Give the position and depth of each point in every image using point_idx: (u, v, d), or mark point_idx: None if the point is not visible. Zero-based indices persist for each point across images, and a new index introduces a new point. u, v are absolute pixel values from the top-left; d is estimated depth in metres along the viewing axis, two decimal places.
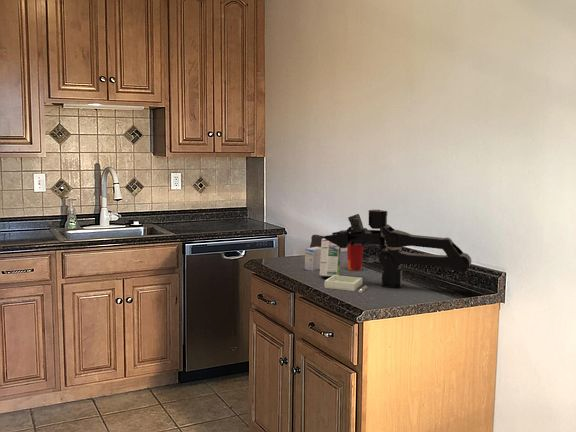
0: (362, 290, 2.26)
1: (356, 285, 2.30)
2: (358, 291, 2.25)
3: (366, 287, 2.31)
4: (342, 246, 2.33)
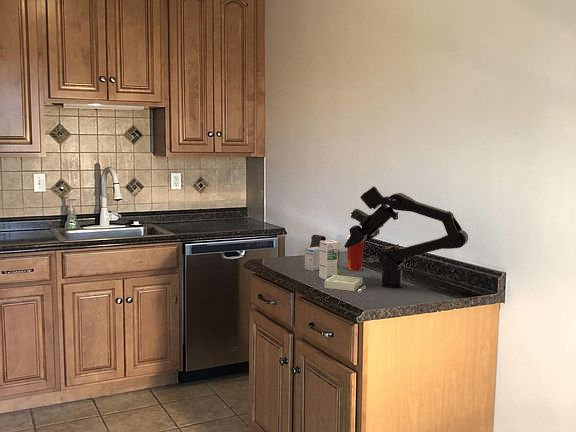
0: (360, 289, 2.26)
1: (356, 285, 2.30)
2: (357, 292, 2.25)
3: (364, 286, 2.31)
4: (360, 239, 2.31)
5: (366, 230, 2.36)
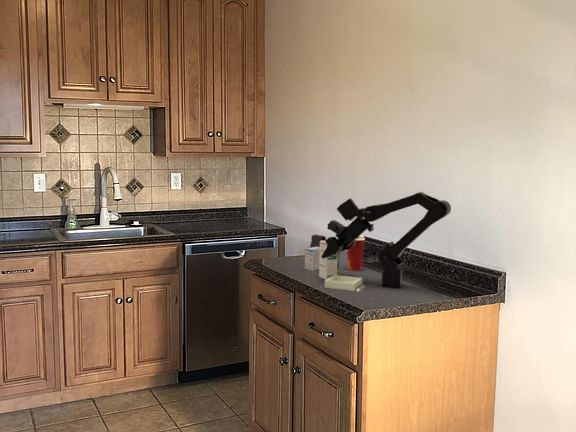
0: (357, 289, 2.27)
1: (356, 285, 2.30)
2: (357, 292, 2.25)
3: (361, 286, 2.32)
4: (335, 250, 2.35)
5: (342, 241, 2.41)
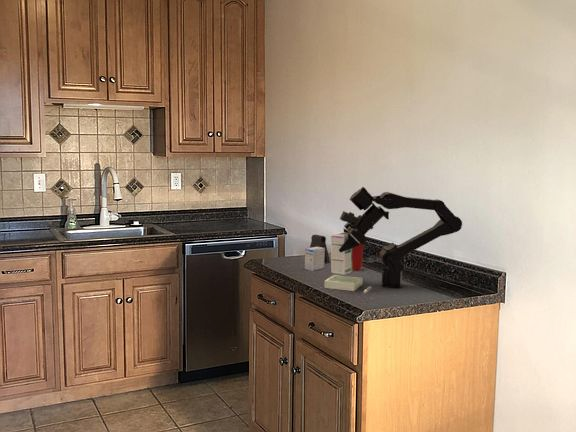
0: (364, 290, 2.26)
1: (356, 285, 2.30)
2: (365, 293, 2.24)
3: None
4: (363, 242, 2.25)
5: (360, 232, 2.31)
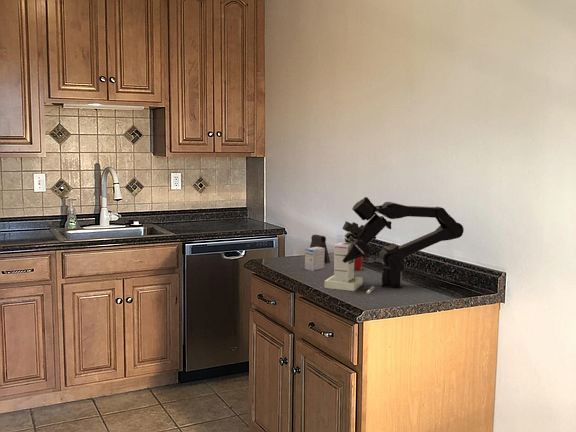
0: (370, 291, 2.25)
1: (356, 285, 2.30)
2: (366, 292, 2.24)
3: (374, 288, 2.30)
4: (368, 252, 2.24)
5: None
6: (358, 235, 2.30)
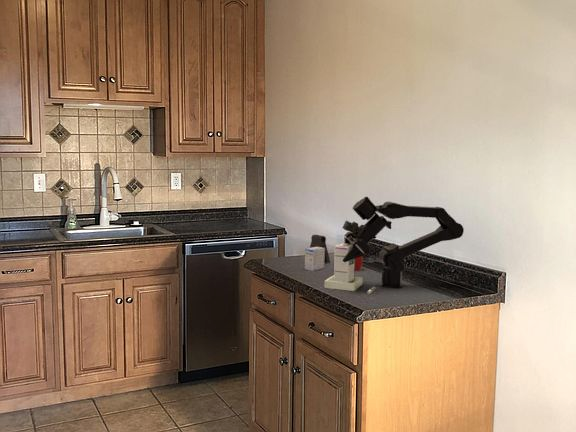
0: (371, 292, 2.25)
1: (356, 285, 2.30)
2: (367, 291, 2.24)
3: (375, 288, 2.30)
4: (367, 252, 2.24)
5: None
6: (358, 234, 2.30)
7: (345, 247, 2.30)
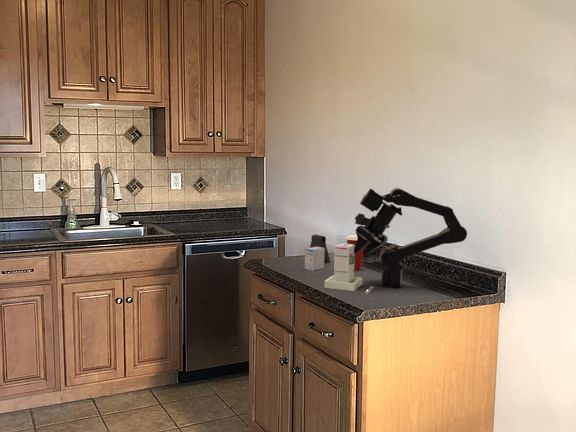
0: (367, 290, 2.25)
1: (356, 285, 2.30)
2: (365, 293, 2.24)
3: (371, 286, 2.30)
4: (367, 236, 2.26)
5: (373, 231, 2.33)
6: (367, 225, 2.34)
7: (345, 247, 2.30)
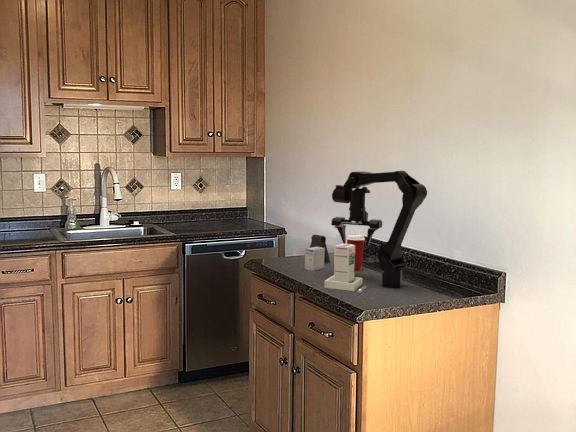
0: (360, 289, 2.26)
1: (356, 285, 2.30)
2: (357, 292, 2.25)
3: (364, 286, 2.31)
4: (331, 222, 2.47)
5: None
6: None
7: (345, 247, 2.30)
